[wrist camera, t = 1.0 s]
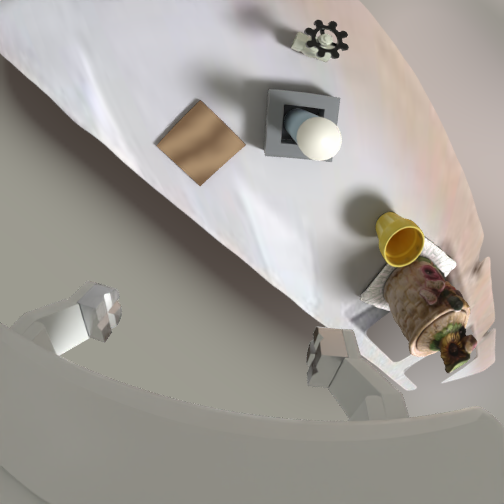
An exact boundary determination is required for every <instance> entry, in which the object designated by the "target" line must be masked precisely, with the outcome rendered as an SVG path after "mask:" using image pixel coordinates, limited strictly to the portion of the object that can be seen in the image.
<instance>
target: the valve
mask: <svg viewBox="0 0 504 504" xmlns="http://www.w3.org/2000/svg"><path fill="white" fill-rule="evenodd" d="M328 24H329V25H328V26H325V25H323V22H322V21H321V20H316V21H315V22H314V25H315V26H316V29H314V30H313V29H311V28H306V29H305V31H304V33H305V34H306V35H305V34H303V33H300V32H298V33H297V35H296V37H295V39H294V41H293V44H292V47H291V49H293V50H296V51H299V52H300V51H301V52H302V53H303V54H304V55H306V56H308V57H310V58H317V59H319V60H321V61H323V62H328V61H329V60H330V58H333V59H336V58H339V53H338V52H337V50H338V49H342V51H345V50H348V48H349V47H348V45H347V44H345V43H343V42H342V38H346V37H347V36H348V34H347V32H345V31H341V32H338V31H337V30H336V27H337V23H336V22H334V21H331V22H329V23H328ZM325 29H326V30H330V31H332V32H333V33H334V34H335V35H336V37H337V40H338V41H337V43H333V39H332V36H330V35H328V34H325V33H324V30H325ZM319 30H320V34H321V35H320V36H319V37H316V34H317V32H318V31H319ZM308 35H310V37H307V36H308Z"/></svg>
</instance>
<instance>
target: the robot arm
mask: <svg viewBox="0 0 504 504" xmlns="http://www.w3.org/2000/svg"><path fill="white" fill-rule="evenodd" d="M118 299H119V292H118V290H117V289H115V288H113V287H109V286H106V285H102V284H99V283H95V282H92V281H86V282H85V283H84V284H83V285H82V286H81V287H80V288H79V289H78V290H77V291H76V292H75V293H74V294H73V295H72V296H71V297H70V298H69V299H68V300H67V299H64V300H61V301H58V302H55V303H52V304H49V305H46V306H44V307H41V308H38V309H35V310H32V311H29V312H26V313H24V314H23V315H22V316H21V317H20V318H19V319H18V320H17V321H16V322H15V323H14V324H13V325H12V326H11V327H10V328H8V327H7V326H5V325H4V324H2V323H0V504H504V427H503V425H502V424H501V423H500V422H499V421H498V420H497V419H496V418H495V417H494V416H493V415H492V414H490V413H489V412H488V411H487V410H485V409H484V408H482V407H480V406H474V407H469V408H464V409H460V410H455V411H450V412H444V413H439V414H433V415H426V416H418V417H410V418H409V415H408V411H407V408H406V404H405V401H404V397H403V394H402V393H401V392H399V390H397V388H395V387H394V386H393V385H392V384H391V383H390V382H389V381H388V380H387V379H386V378H385V377H383V375H382V374H380V373H379V372H378V371H377V370H376V369H375V368H374V367H373V366H372V365H371V364H370V363H369V362H367V360H366V359H361V355H360V351H359V347H358V344H357V340H356V337H355V333H354V331H353V330H350V329H335V328H325V327H316V328H315V330H314V333H313V340H312V341H311V342H310V344H309V347H308V350H307V357H306V363H307V366H308V367H309V370H308V372H307V381H308V382H307V383H308V386H313V387H323V388H328V390H329V391H330V392H331V394H332V395H333V396H334V398H335V399H336V401H337V402H338V404H339V405H340V406H341V408H342V409H343V411H344V412H345V414H346V415H347V416H348V418H349V420H348V421H319V420H301V419H288V418H278V417H269V416H261V415H253V414H246V413H240V412H234V411H227V410H223V409H217V408H213V407H207V406H203V405H199V404H194V403H190V402H186V401H182V400H178V399H174V398H171V397H167V396H163V395H160V394H156V393H153V392H150V391H146V390H143V389H140V388H137V387H134V386H131V385H128V384H126V383H123V382H120V381H117V380H115V379H112V378H109V377H107V376H104V375H102V374H99V373H97V372H94V371H92V370H89V369H87V368H85V367H82V366H80V365H78V364H76V363H73V362H71V361H69V360H67V359H65V358H63V357H61V356H59V355H61V354H63V353H64V352H66V351H68V350H69V349H71V348H73V347H75V346H76V345H78V344H80V343H82V342H83V341H85V340H87V339H88V338H89V337H90V338H93V339H96V340H98V341H102V342H106V340H107V339H108V337H109V336H110V334H111V333H112V330H111V328H113V327H115V326H117V325H118V323H119V321H120V319H121V316H122V309H121V305H120V303H119V302H118V301H117V300H118Z"/></svg>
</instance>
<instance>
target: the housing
mask: <svg viewBox="0 0 504 504" xmlns="http://www.w3.org/2000/svg"><path fill="white" fill-rule="evenodd" d="M284 104H286V105H296V106H305V107H312V108H319V109H318V116H319V117H323V118H326V119H328V120H330V121H332V122H333V123H334V124H335V125H336V126H337V121H338V113H339V104H340V98H337V97H331V96H325V95H319V94H312V93H305V92H296V91H287V90H277V89H268V99H267V114H266V129H265V143H264V153H265V156H273V157H287V158H298V159H309V160H313V159H310V158H308V157H307V156H306V155H304V154H303V152H302V151H301V150H300V148H299V146H298V144H297V143H296V142H295V140H289V139H281V135H282V123H283V111H284ZM323 161H327V162H332V157H331V158H330V159H327V160H323Z"/></svg>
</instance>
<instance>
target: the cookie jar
mask: <svg viewBox="0 0 504 504" xmlns="http://www.w3.org/2000/svg"><path fill="white" fill-rule="evenodd" d="M424 238H425V237H424ZM455 266H456V262H455V261H454V260H453V259H451V258H450V257H448V256H447V255H446V253H445V252H444V251H443V250H441V249H440V248H438V247H437V246H436V245H435V244H433V243H432V242H431V241H429V240H428V239H427V238H425V243H424V247H423V250H422V252H421V254H420V255H419V256H418V257H417V259H416V260H414V261H413V262H412V263H410V264H408V265H406V266H403V267H393V266H391V265H389V264H388V263H387V265H386V266H385V267H384V268H383V269H382V271H381V272H380V273H379V274H378V276H377V277H376V278H375V279H374V281H373V282H372V283H371V284H370V286H369V287H368V288H367V289H366V291H365V292H363V293H362V294H361V298H360V300H361V301H363V302H366V303H367V304H370V305H371V304H372V305H374V306H376V307H378V308H381V309H385V310H388V311H391V313H392V314H393V318H394V320H395V322H396V323H397V324H398V325H399V327H400V328H401V330H402V333H403V334H404V336H405V337H406V338H407V340H408V341H409V351H410V354H412V355H414V356H417V357H423V356H427V355H430V354H434V353H436V352H438V351H440V352H441V358H442V359H443V361H444V364H445V370H446V372H447V373H451V372H452V371H453V370H455V369H457V368H458V367H460V366H461V365H463V364H464V363H466V362H467V361H468V360H469V359H470V353H471V352H472V351H473V349H474V348H475V347H476V345H477V340H476V339H475V338H474V337H473V335H468V336H466V335H465V333H466V329H465V327H466V325H467V321H468V317H469V315H470V307H469V305H468V303H467V302H466V301H465V300H464V299H463V296H462V294H461V293H460V292H459V291H458V290H456V289H455V288H454V287H453V286H451V285H450V283H449V282H446V279H445V277H446V276H447V275H448V273H449V272H450V271H451V270H452V269H454V268H455Z"/></svg>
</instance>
